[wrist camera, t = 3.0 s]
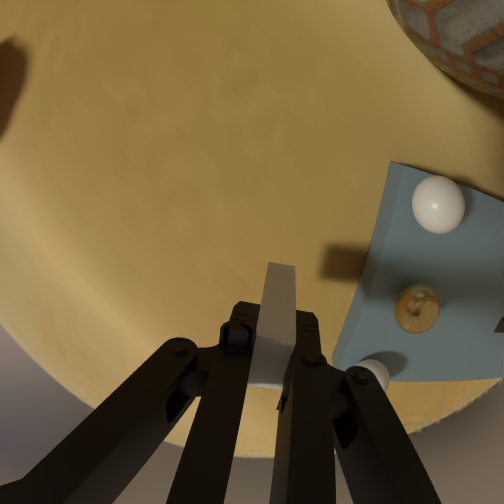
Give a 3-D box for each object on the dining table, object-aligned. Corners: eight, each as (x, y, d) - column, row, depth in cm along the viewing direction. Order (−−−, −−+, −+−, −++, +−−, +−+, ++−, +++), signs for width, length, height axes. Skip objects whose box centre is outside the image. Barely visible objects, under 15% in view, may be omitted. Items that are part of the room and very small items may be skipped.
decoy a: (410, 165, 14) (435, 173, 11) (452, 179, 14) (481, 190, 11) (398, 217, 16) (418, 235, 13) (440, 228, 15) (465, 247, 12)
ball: (396, 270, 17) (413, 296, 14) (435, 278, 17) (456, 302, 14) (380, 313, 18) (393, 342, 15) (418, 317, 18) (434, 345, 15)
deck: (390, 161, 17) (404, 165, 14) (561, 231, 15) (576, 240, 13) (331, 356, 23) (334, 376, 21) (501, 362, 22) (510, 376, 19)
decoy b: (352, 348, 19) (359, 379, 16) (390, 352, 19) (401, 381, 16) (338, 378, 21) (342, 409, 18) (374, 380, 20) (382, 410, 17)
